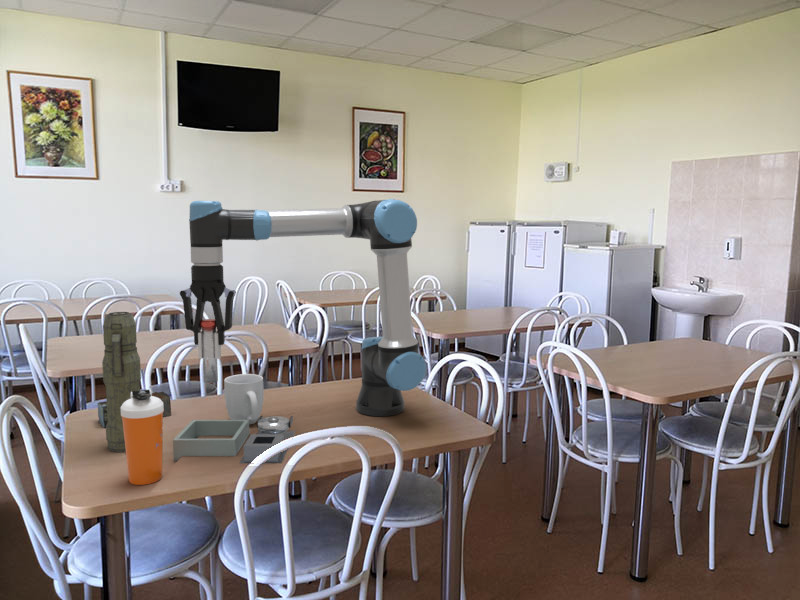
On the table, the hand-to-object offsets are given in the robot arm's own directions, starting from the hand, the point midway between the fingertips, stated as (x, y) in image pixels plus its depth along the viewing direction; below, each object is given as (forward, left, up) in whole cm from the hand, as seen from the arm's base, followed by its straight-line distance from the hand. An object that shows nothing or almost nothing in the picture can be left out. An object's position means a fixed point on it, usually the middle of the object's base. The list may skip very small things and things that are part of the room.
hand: (210, 357), depth 150 cm
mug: (-4, -21, -25) cm, 33 cm away
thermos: (+23, -3, -25) cm, 34 cm away
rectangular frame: (0, 0, -24) cm, 24 cm away
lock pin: (0, 0, -6) cm, 6 cm away
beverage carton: (+30, -25, -25) cm, 46 cm away
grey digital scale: (-15, +1, -24) cm, 28 cm away
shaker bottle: (+10, +17, -25) cm, 32 cm away
